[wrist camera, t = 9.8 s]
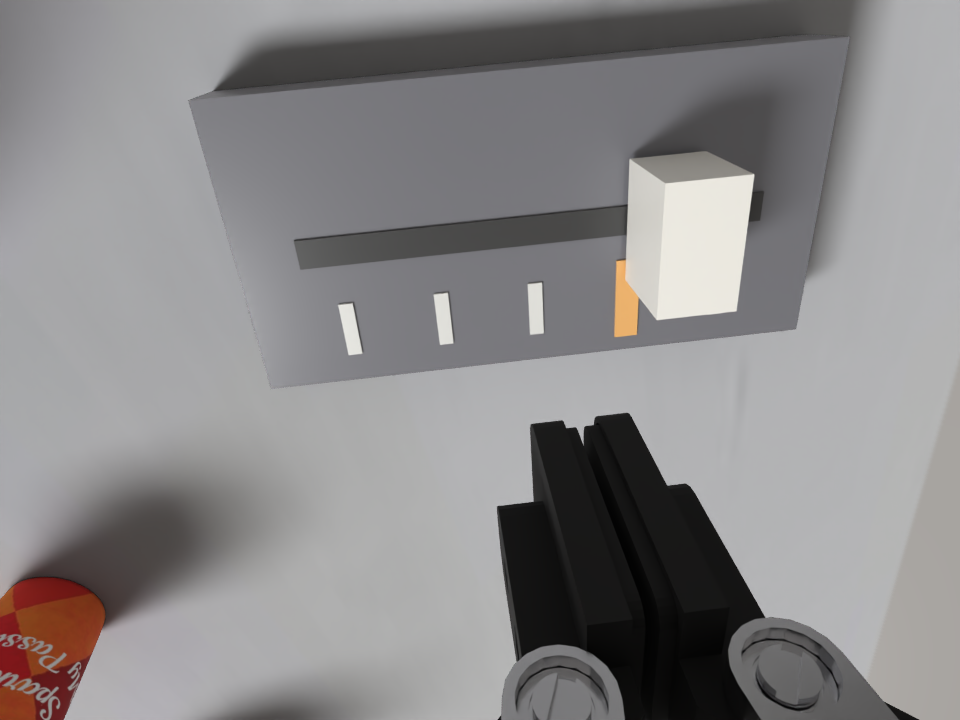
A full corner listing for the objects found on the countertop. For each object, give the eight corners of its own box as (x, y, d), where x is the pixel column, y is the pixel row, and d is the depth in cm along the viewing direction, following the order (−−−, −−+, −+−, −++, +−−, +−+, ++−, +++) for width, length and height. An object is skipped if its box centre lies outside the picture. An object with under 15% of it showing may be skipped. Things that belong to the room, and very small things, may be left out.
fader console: (212, 91, 25) (187, 100, 22) (806, 34, 26) (851, 36, 23) (283, 356, 31) (270, 390, 28) (764, 302, 32) (797, 330, 29)
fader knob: (629, 158, 24) (665, 183, 21) (705, 151, 24) (754, 174, 21) (625, 279, 27) (657, 320, 23) (694, 272, 27) (736, 311, 23)
